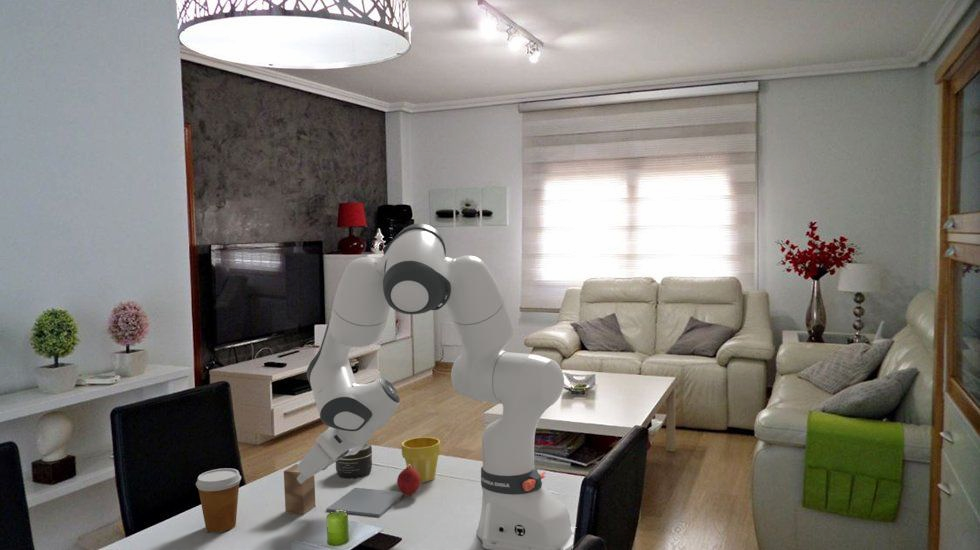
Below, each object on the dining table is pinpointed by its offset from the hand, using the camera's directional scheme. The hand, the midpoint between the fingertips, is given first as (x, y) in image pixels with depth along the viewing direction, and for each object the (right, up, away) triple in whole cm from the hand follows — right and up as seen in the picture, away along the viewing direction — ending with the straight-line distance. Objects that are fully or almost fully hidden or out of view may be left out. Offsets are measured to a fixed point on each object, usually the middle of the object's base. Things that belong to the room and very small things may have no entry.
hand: (311, 473), depth 161 cm
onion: (+22, -8, +9) cm, 25 cm away
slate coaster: (+12, -9, +6) cm, 16 cm away
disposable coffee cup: (-19, -10, -6) cm, 22 cm away
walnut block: (-3, -9, +3) cm, 10 cm away
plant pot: (+24, -8, +22) cm, 33 cm away
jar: (+5, -8, +27) cm, 29 cm away
